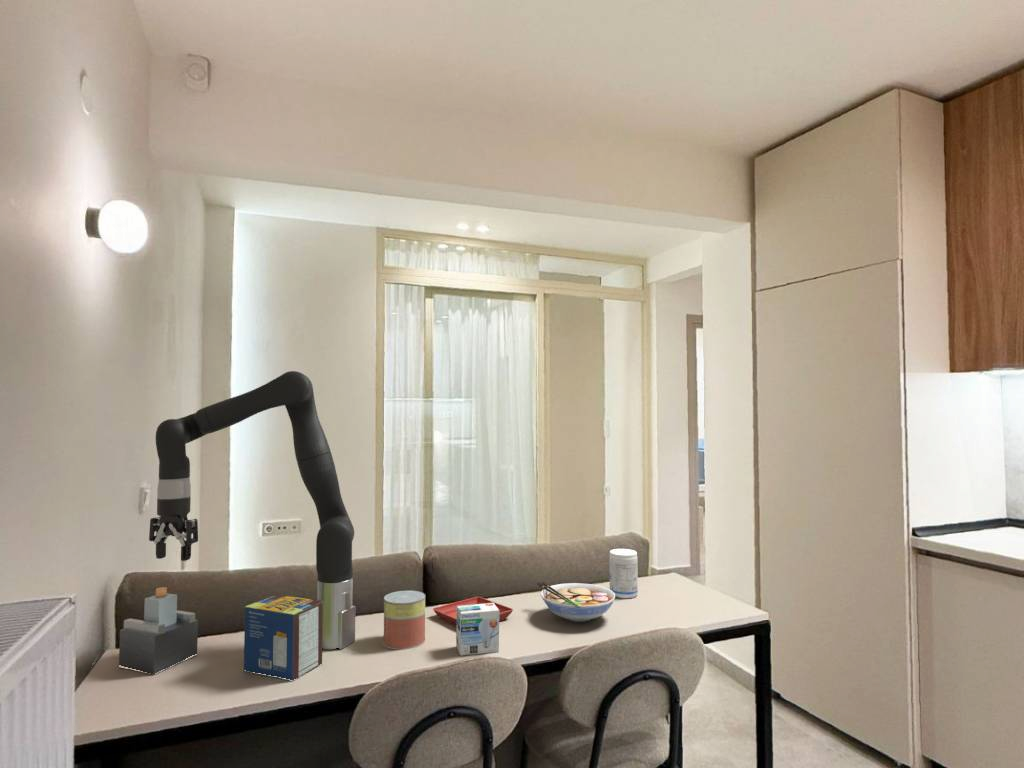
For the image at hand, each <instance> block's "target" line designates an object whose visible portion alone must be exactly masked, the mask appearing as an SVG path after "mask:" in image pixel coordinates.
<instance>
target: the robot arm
mask: <svg viewBox="0 0 1024 768" xmlns="http://www.w3.org/2000/svg"><path fill="white" fill-rule="evenodd" d="M283 406H284V407H285V409H286V412H287V415H288V417H289V419H290V423H291V427H292V428H291V429H292V437H293V438H292V441H293V449H294V454H295V455H294V456H295V459H296V463H297V467H298V471H299V474H300V477H301V479H302V482H303V484H304V487H305V488H306V489H307V492H308V494H309V495H310V497H311V499H312V501H313V503H314V506H315V509H316V513H317V517H318V523H319V530H318V532H317V535H316V540H315V541H316V544H315V546H316V547H315V550H316V552H315V555H316V557H315V559H316V562H315V564H316V566H315V567H316V574H317V585H316V587H317V589H316V590H317V593H316V600H320V601H322V602H323V607H322V648H323V649H322V650H337V649H336V648H339V649H340V650H342V648H343V649H344V648H346V647H347V645H348V646H349V645H351V644H353V643H355V642H356V608H357V607H356V606H355V605H354V604H353V587H354V586H353V583H354V582H353V579H354V578H353V577H354V568H353V567H354V566H353V541H354V537H355V529H354V526H353V523H352V521H351V518H350V516H349V514H348V510H346V509H347V508H346V506H345V504H344V500H343V498H342V493H341V489H340V483H339V482H340V481H339V479H338V474H337V470H336V465H335V462H334V458H333V454H332V451H331V448H330V445H329V442H328V439H327V437H326V434H325V431H324V429H323V426H322V425H321V424H322V423H321V422H320V419H319V416H318V411H317V407H316V400H315V393H314V386H313V384H312V381H311V380H310V378H309V377H308V376H307V375H305V374H304V373H302V372H301V371H295V370H291V371H287V372H284V373H282V374H281V375H279V376H277V377H276V378H274V379H272V380H270V381H268V382H267V383H264V384H263V385H261V386H259V387H256V388H254V389H253V390H250V391H248V392H245V393H241V394H239V395H236V396H233V397H230V398H227V399H224V400H222V401H221V400H220V401H218V402H215V403H213V404H210V405H208V406H205V407H202V408H200V409H198V410H197V411H195V412H194V413H192V414H189V415H186V416H182V417H179V418H176V419H175V418H169V419H166V420H163V421H162V422H160V423H159V424H158V427H156V431H155V446H156V447H155V449H156V453H157V457H158V462H159V465H158V482H157V488H156V489H157V491H156V496H157V497H156V498H157V499H156V515H157V517H151V518H150V520H149V533H148V534H149V536H148V540H149V542H153V543H154V545H155V556H156V557H155V558H156V559H157V560H160V559H164V558H166V556H167V542H166V541H167V540H168V538H169V537H175V539H176V540H178V541H179V544H180V545H181V546H180V562H181V561H182V562H185V561H189V560H190V559H191V556H192V545H193V544H195V543H198V542H199V523H198V519H197V518H192V519H189V518H188V515H189V513H190V512H191V499H192V498H191V496H192V495H191V491H192V490H191V489H192V488H191V487H192V485H191V478H190V476H191V474H190V473H191V462H190V458H189V456H187V450H186V444H189V443H191V442H193V441H196V440H198V439H200V438H202V437H204V436H206V435H208V434H212V433H215V432H218V431H221V430H223V429H226V428H229V427H231V426H234V425H237V424H238V423H241V422H243V421H245V420H246V419H249V418H250V417H253V416H254V415H257V414H259V413H261V412H264V411H267V410H271V409H273V408H277V407H283ZM155 532H156V533H155ZM352 642H353V643H352ZM350 643H351V644H350ZM339 649H338V650H339Z"/></svg>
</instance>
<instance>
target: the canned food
mask: <svg viewBox="0 0 1024 768" xmlns="http://www.w3.org/2000/svg"><path fill="white" fill-rule="evenodd" d="M425 641H426V593H424V592H423V591H419V590H411V589H410V590H397V591H393V592H389V593H388V594H387V593H386V594H385V595H384V596H383V643H384V644H383V646H385V647H386V648H388V647H389V648H388V649H391V648H392V650H409V649H414V648H417V647H420V646H422V645H423V644H425Z"/></svg>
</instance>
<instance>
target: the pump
mask: <svg viewBox="0 0 1024 768" xmlns="http://www.w3.org/2000/svg"><path fill="white" fill-rule="evenodd" d="M143 609H144V611H143V612H144V613H143V614H144V615H143V621H148V622H154V623H160V624H165V627H166V626H169V625H172V624H174V623H176V620H177V610H178V594H175V593H169V592H168V587H165V586H162V587H158V588H156V589H155V595H151V596H149V597H145V598H144V608H143Z"/></svg>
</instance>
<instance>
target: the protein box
mask: <svg viewBox="0 0 1024 768" xmlns="http://www.w3.org/2000/svg"><path fill="white" fill-rule="evenodd" d="M322 607H323V602H322V601H320V600H317V599H311V598H304V597H303V598H302V597H296V596H290V595H289V596H287V595H281V594H280V595H279V594H274V595H272V596H269V597H267V598H264V599H261V600H259V601H256V602H252V603H250V604H248V605H245V606H244V633H243V634H244V640H243V641H244V643H243V645H244V646H243V649H244V650H243V671H244V670H246V671H250V672H255V673H261V674H266V675H271V676H277V677H281V678H286V679H290V680H294V679H296V678H297V679H299V678H300V677H299V676H301V675H302V676H304V675H306V674H307V673H309V672H311V671H313V670H314V669H316V668H317V667H319V666H321V665H322V664H323V649H322ZM320 664H321V665H320ZM318 665H319V666H318ZM315 667H316V668H315ZM313 668H314V669H313ZM310 670H311V671H310ZM308 671H309V672H308ZM250 672H249V673H250ZM306 672H307V673H306ZM255 673H254V674H255ZM305 673H306V674H305ZM303 674H304V675H303ZM302 676H301V677H302ZM298 677H299V678H298ZM297 679H296V680H297ZM294 681H295V680H294Z"/></svg>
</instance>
